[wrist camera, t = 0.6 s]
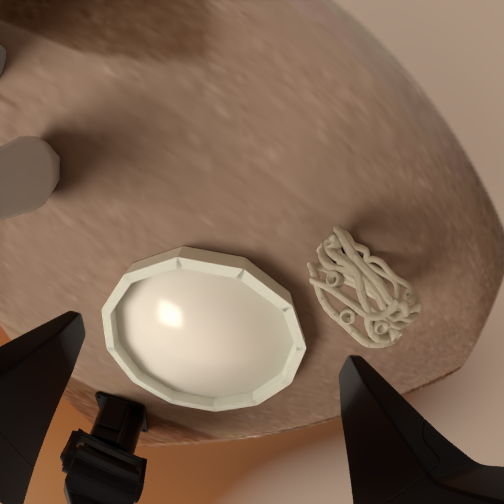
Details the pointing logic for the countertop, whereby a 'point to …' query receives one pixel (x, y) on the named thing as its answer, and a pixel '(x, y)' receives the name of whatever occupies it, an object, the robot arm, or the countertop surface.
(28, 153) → the salt shaker
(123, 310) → the ring dish
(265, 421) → the countertop surface
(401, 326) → the bracelet
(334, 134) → the countertop surface
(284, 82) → the countertop surface
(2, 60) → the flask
